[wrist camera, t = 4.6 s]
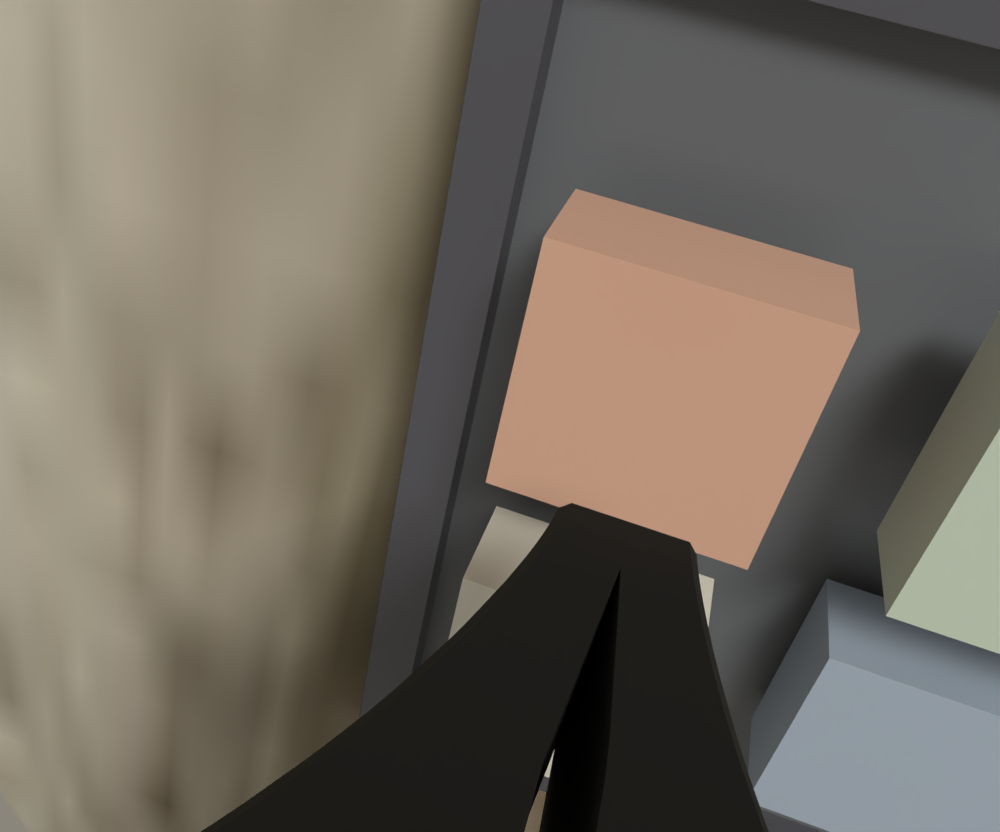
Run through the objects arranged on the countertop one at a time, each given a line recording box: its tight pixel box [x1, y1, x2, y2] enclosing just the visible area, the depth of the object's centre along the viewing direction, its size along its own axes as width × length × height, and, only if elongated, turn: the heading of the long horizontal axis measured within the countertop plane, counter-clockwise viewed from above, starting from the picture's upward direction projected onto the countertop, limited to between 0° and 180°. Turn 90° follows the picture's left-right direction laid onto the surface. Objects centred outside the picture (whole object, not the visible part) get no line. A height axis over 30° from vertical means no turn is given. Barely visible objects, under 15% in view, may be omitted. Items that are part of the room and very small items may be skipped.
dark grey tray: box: [359, 0, 1000, 832], centre depth 17 cm, size 14×18×2 cm
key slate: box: [748, 579, 1000, 832], centre depth 17 cm, size 4×4×2 cm
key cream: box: [448, 506, 714, 778], centre depth 17 cm, size 4×4×2 cm
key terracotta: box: [486, 189, 860, 570], centre depth 13 cm, size 4×4×2 cm
